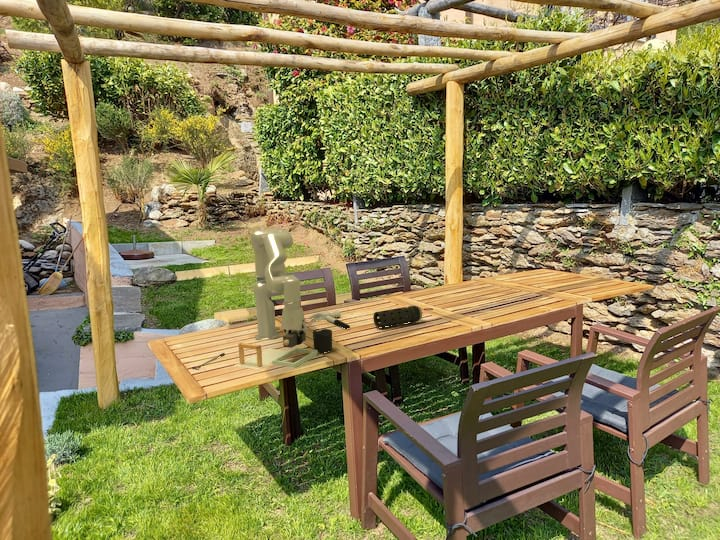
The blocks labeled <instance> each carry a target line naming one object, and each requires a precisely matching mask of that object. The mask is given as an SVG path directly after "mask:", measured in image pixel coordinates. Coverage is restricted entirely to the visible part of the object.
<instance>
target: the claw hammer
mask: <svg viewBox="0 0 720 540" xmlns="http://www.w3.org/2000/svg"><path fill="white" fill-rule="evenodd" d="M341 315H342V314H341V311H340V310H335V311H332V312H330V311H329V310H324V311H319V312H315V313H313V314H311V315H309V316H308V320H310V321H309V322H308V324H309V323H311V322H313V321H316V320H328V321H327V322H331V324H332V323H333V325H335V326H338V325H339V326H341V327H343V328H345V329H347V328H350V329H351V325H349V324H347V323H346V322H343V321H341V320H340V319H338V318H337V317H340V318H341ZM334 317H336V318H334ZM316 322H317V321H316ZM313 323H314V322H313ZM311 324H312V323H311ZM339 326H338V327H339ZM341 327H340V328H341ZM343 328H342V329H343ZM345 329H344V330H345Z"/></svg>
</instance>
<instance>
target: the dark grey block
mask: <svg viewBox="0 0 720 540" xmlns="http://www.w3.org/2000/svg"><path fill="white" fill-rule="evenodd" d="M306 333H307V331H306V332H305V333H304V334H303V335H302V343H304V342H306V341H307V339H306V338H307V336H306V335H307V334H306ZM297 336H298V334H297V331H294V330H292V331H291V333H289V334H287V335H286V334H284V335H283V336H282V342H283V348H289V349H290V348H291V349H292V348H294V347H296V346H298V345H297Z"/></svg>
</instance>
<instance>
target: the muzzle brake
mask: <svg viewBox="0 0 720 540" xmlns="http://www.w3.org/2000/svg"><path fill="white" fill-rule="evenodd" d="M372 319H373V323H374V326H375V327H376V328H377V327H378V328H379V327H385V326H391V325H397V324H399V325H404V324H403V323H408V322H411V323H415V322H416V321H417V322H419V321H420V320H422V319H423V312H422V308H421V307H420V306H418V305H409V306H407V307H405V306H404V307H399V308H393V309H386V310H381V311H380V310H379V311H375V312H374V313H373V318H372ZM397 326H398V325H397ZM378 328H377V329H378Z"/></svg>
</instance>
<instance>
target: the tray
mask: <svg viewBox="0 0 720 540" xmlns="http://www.w3.org/2000/svg"><path fill="white" fill-rule="evenodd" d="M296 353H303V354H304V353H305V354H307V355H305V356H303V357H302V358H299V360H296V361H295V362H290V361H284V360H285V359H286V358H289V357H291V356H292V355H293V354H296ZM318 353H319V352H318V350H314V349H311V348H310V349H309V348H302V347H295V348H293V349H291V350H289V352H287V353H285V354H284V355H282V356H280V357H278V358H276V359H274V360H272V363H271V364H272V365H274V366H275V365H276V366H281V367H282V366H283V367H287V368H289V367H290V368H296V367H297V366H299V365H301V364H302V365H304V364H305V363H304V362H306V361H307V362H309V361H310V360H309V359H311V358H312V359H314V358H315V357H314V356H316V355H317V354H318ZM318 355H319V354H318ZM313 357H314V358H313ZM316 357H317V356H316ZM312 359H311V360H312ZM308 360H309V361H308ZM307 362H306V363H307ZM303 363H304V364H303ZM302 365H301V366H302ZM299 367H300V366H299ZM296 369H297V368H296Z"/></svg>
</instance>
